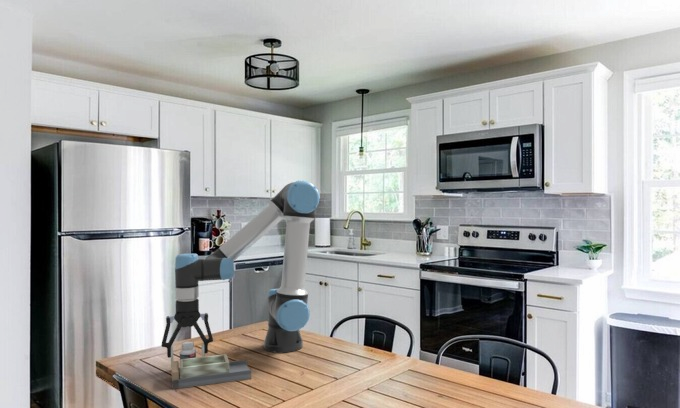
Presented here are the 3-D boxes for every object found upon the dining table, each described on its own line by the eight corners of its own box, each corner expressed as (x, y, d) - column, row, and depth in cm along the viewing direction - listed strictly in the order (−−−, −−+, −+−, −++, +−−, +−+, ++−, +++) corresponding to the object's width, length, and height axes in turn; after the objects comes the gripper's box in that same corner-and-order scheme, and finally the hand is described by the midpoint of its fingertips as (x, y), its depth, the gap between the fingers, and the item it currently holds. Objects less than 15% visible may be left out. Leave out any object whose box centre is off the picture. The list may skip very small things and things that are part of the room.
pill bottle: (191, 372, 157) (190, 346, 157) (176, 371, 158) (176, 345, 158) (198, 367, 162) (198, 341, 162) (185, 366, 164) (184, 340, 164)
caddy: (226, 366, 158) (226, 354, 158) (229, 375, 150) (229, 362, 150) (179, 371, 153) (179, 359, 153) (179, 381, 145) (179, 368, 145)
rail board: (246, 367, 161) (246, 353, 161) (251, 378, 151) (250, 363, 151) (172, 376, 154) (172, 361, 154) (171, 389, 143) (171, 372, 143)
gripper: (219, 294, 168) (220, 357, 168) (153, 299, 160) (153, 365, 160) (221, 298, 161) (222, 364, 160) (151, 303, 153) (152, 372, 153)
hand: (187, 364), depth 160 cm, fingers open, 9 cm apart
